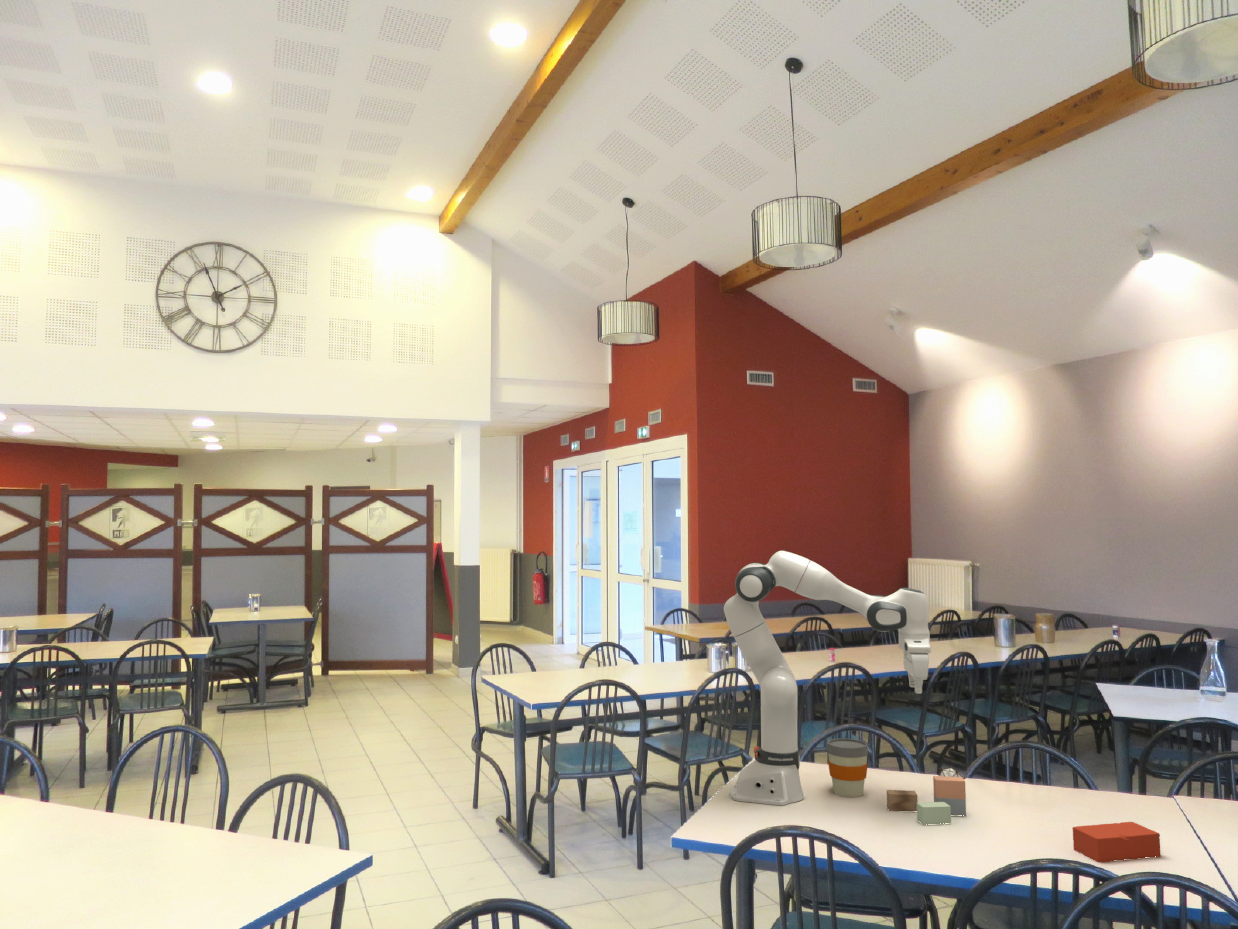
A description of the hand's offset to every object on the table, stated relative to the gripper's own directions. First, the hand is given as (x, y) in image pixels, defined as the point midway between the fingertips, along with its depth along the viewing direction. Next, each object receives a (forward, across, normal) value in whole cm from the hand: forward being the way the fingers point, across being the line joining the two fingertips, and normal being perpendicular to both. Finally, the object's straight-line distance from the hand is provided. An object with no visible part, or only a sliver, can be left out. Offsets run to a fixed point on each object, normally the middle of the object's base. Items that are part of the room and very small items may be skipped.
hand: (915, 690), depth 255 cm
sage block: (+34, +12, +2) cm, 36 cm away
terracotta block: (+29, +4, +8) cm, 31 cm away
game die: (+34, -15, +12) cm, 39 cm away
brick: (+35, +28, +43) cm, 62 cm away
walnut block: (+34, +2, -5) cm, 35 cm away
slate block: (+34, +4, +8) cm, 35 cm away
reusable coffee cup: (+34, -12, -19) cm, 41 cm away
